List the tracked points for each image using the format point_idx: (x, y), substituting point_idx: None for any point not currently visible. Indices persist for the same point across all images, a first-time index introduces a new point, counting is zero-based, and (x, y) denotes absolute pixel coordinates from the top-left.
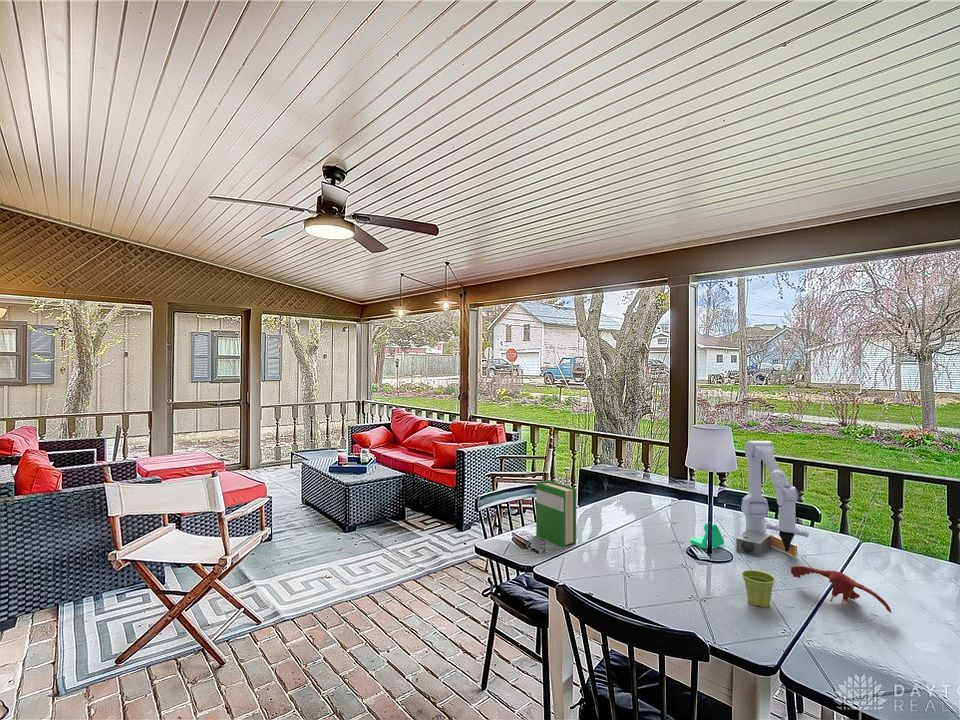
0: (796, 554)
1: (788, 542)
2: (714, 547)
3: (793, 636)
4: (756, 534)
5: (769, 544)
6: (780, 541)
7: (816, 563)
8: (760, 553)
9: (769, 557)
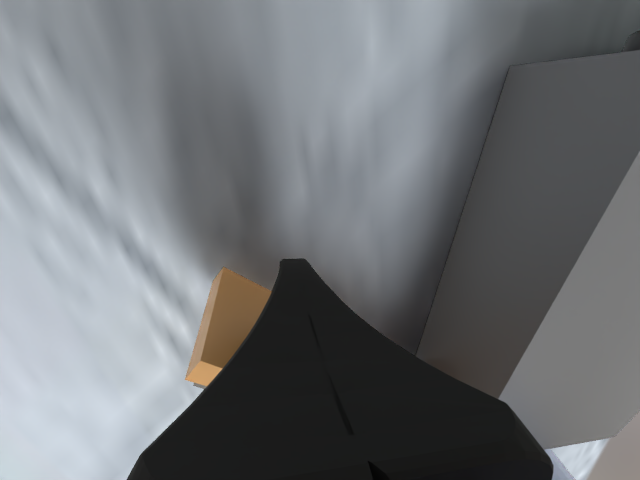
0: (209, 293)
1: (267, 331)
2: None
3: None
4: (589, 386)
5: (432, 359)
6: None
7: (20, 263)
8: (536, 63)
9: (426, 102)
